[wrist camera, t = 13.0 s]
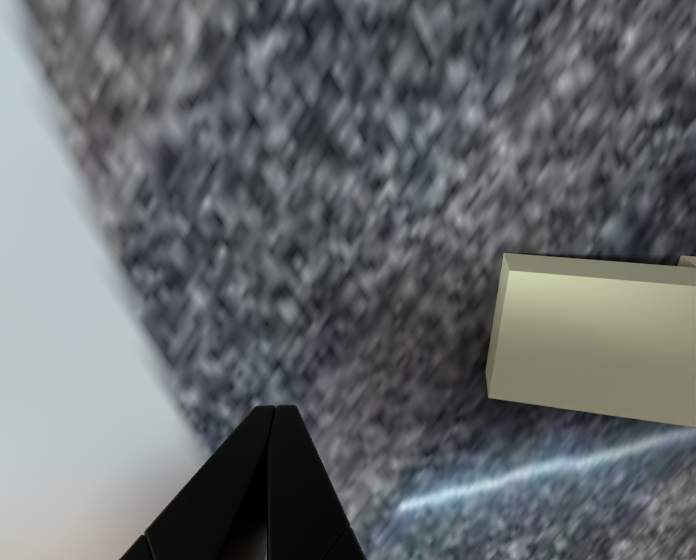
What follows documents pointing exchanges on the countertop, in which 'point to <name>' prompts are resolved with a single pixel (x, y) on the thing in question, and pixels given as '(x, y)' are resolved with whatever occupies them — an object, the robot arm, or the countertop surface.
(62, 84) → the countertop surface
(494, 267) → the countertop surface
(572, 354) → the domino
